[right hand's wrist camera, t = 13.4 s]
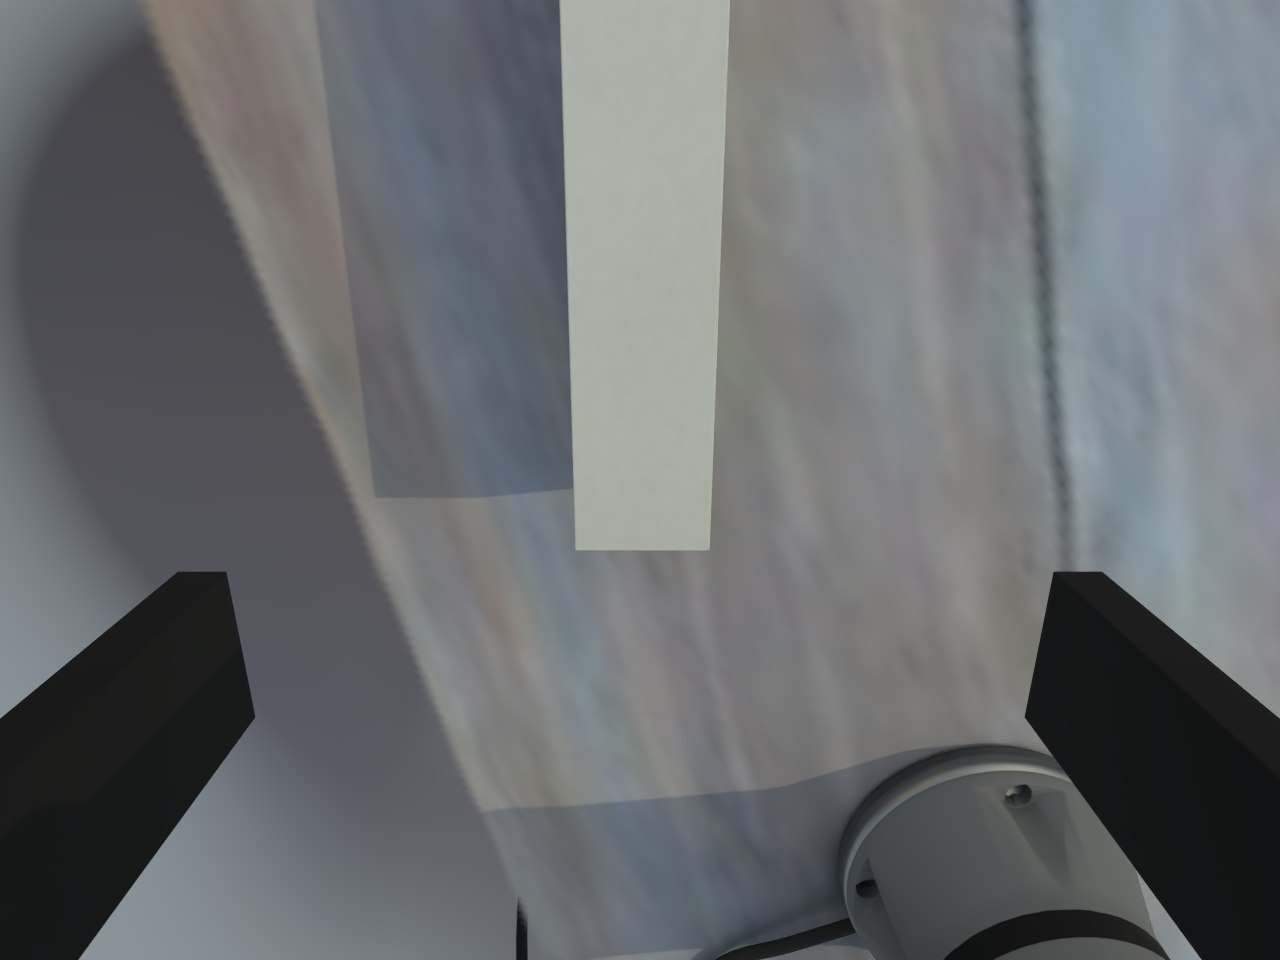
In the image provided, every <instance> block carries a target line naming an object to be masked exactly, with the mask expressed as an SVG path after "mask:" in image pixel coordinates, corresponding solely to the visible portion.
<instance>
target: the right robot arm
mask: <svg viewBox="0 0 1280 960" xmlns="http://www.w3.org/2000/svg"><path fill="white" fill-rule="evenodd" d="M254 718H255V713H254V708H253V703H252V698H251V693H250V688H249V683H248V678H247V673H246V668H245V663H244V658H243V653H242V648H241V643H240V638H239V633H238V628H237V623H236V618H235V613H234V608H233V603H232V598H231V593H230V588H229V583H228V578H227V573H226V572H177V573H176V574H175V575H174V576H172V577H171V578H170V579H169V580H168V581H166V582H165V583H164V584H163V585H161V586H160V587H159V588H158V589H157V590H155V591H154V592H153V593H152V594H151V595H149V596H148V597H147V598H146V599H144V600H143V601H142V602H141V603H140V604H138V605H137V606H136V607H135V608H134V609H132V610H131V611H130V612H129V613H128V614H126V615H125V616H124V617H123V618H121V619H120V620H119V621H118V622H117V623H115V624H114V625H113V626H112V627H111V628H109V629H108V630H107V631H106V632H105V633H103V634H102V635H101V636H100V637H99V638H97V639H96V640H95V641H94V642H92V643H91V644H90V645H89V646H88V647H86V648H85V649H84V650H83V651H82V652H80V653H79V654H78V655H77V656H76V657H74V658H73V659H72V660H71V661H70V662H68V663H67V664H66V665H65V666H63V667H62V668H61V669H60V670H59V671H57V672H56V673H55V674H54V675H53V676H51V677H50V678H49V679H48V680H47V681H45V682H44V683H43V684H42V685H40V686H39V687H38V688H37V689H36V690H34V691H33V692H32V693H31V694H30V695H28V696H27V697H26V698H25V699H23V700H22V701H21V702H20V703H19V704H17V705H16V706H15V707H14V708H13V709H11V710H10V711H9V712H8V713H7V714H5V715H4V716H3V717H2V718H0V960H78V959H79V958H80V957H81V955H82V954H83V953H84V951H85V950H86V948H87V947H88V946H89V944H90V943H91V941H92V940H93V939H94V937H95V936H96V935H97V933H98V932H99V931H100V929H101V928H102V926H103V925H104V924H105V922H106V921H107V920H108V918H109V917H110V915H111V914H112V913H113V911H114V910H115V909H116V907H117V906H118V905H119V903H120V902H121V900H122V899H123V898H124V896H125V895H126V894H127V892H128V891H129V889H130V888H131V887H132V885H133V884H134V883H135V881H136V880H137V879H138V877H139V876H140V874H141V873H142V872H143V870H144V869H145V868H146V866H147V865H148V863H149V862H150V861H151V859H152V858H153V857H154V855H155V854H156V853H157V851H158V850H159V848H160V847H161V846H162V844H163V843H164V842H165V840H166V839H167V837H168V836H169V835H170V833H171V832H172V831H173V829H174V828H175V826H176V825H177V824H178V822H179V821H180V820H181V818H182V817H183V816H184V814H185V813H186V811H187V810H188V809H189V807H190V806H191V805H192V803H193V802H194V800H195V799H196V798H197V796H198V795H199V794H200V792H201V791H202V789H203V788H204V787H205V785H206V784H207V783H208V781H209V780H210V779H211V777H212V776H213V774H214V773H215V772H216V770H217V769H218V767H219V766H220V765H221V763H222V762H223V761H224V759H225V758H226V757H227V755H228V754H229V752H230V751H231V750H232V748H233V747H234V746H235V744H236V743H237V742H238V740H239V739H240V737H241V736H242V735H243V733H244V732H245V731H246V729H247V728H248V726H249V725H250V724H251V722H252V721H253V720H254ZM1025 718H1026V720H1027V721H1028V722H1029V724H1030V725H1031V726H1032V728H1033V729H1034V731H1035V732H1036V733H1037V735H1038V736H1039V737H1040V739H1041V740H1042V742H1043V743H1044V744H1045V746H1046V747H1047V748H1048V750H1049V751H1050V752H1051V754H1052V755H1053V757H1054V758H1053V757H1050V756H1048V755H1045V754H1042V753H1039V752H1035V751H1031V750H1026V749H1020V748H1013V747H976V748H969V749H962V750H957V751H953V752H949V753H945V754H941V755H938V756H935V757H932V758H929V759H927V760H925V761H922V762H920V763H917V764H915V765H913V766H911V767H909V768H907V769H905V770H904V771H902V772H900V773H899V774H897V775H895V776H894V777H892V778H891V779H890V780H888V781H887V782H885V783H884V784H883V785H882V786H880V787H879V788H878V789H877V790H876V791H875V792H873V793H872V794H871V796H870V797H869V798H868V799H867V800H866V801H865V802H864V803H863V804H862V805H861V807H860V808H859V809H858V810H857V812H856V813H855V815H854V816H853V818H852V819H851V821H850V823H849V825H848V827H847V829H846V831H845V833H844V836H843V838H842V841H841V845H840V849H839V855H838V877H839V883H840V886H841V890H842V894H843V897H844V901H845V904H846V908H847V911H848V914H849V918H847V919H844V920H840V921H837V922H834V923H831V924H828V925H824V926H821V927H818V928H815V929H812V930H808V931H805V932H802V933H799V934H795V935H792V936H789V937H785V938H782V939H778V940H774V941H769V942H765V943H760V944H755V945H750V946H746V947H743V948H739V949H736V950H733V951H731V952H728V953H726V954H724V955H722V956H720V957H718V958H717V959H715V960H760V959H765V958H770V957H775V956H779V955H783V954H787V953H791V952H794V951H798V950H801V949H804V948H808V947H811V946H814V945H817V944H821V943H824V942H827V941H831V940H834V939H837V938H840V937H844V936H847V935H850V934H853V933H857V934H858V935H859V937H860V938H861V939H862V940H863V942H864V943H865V945H866V946H867V948H868V949H869V950H870V952H871V953H872V955H873V956H874V957H875V959H876V960H1170V959H1169V957H1168V956H1167V954H1166V953H1165V951H1164V950H1163V948H1162V946H1161V945H1160V943H1159V942H1158V940H1157V939H1156V937H1155V935H1154V931H1153V928H1152V924H1151V921H1150V918H1149V914H1148V911H1147V907H1146V904H1145V901H1144V897H1143V894H1142V891H1141V887H1140V884H1139V880H1138V877H1137V874H1136V870H1137V872H1138V873H1139V874H1140V876H1141V877H1142V879H1143V880H1144V881H1145V883H1146V884H1147V885H1148V887H1149V888H1150V890H1151V891H1152V892H1153V894H1154V895H1155V896H1156V898H1157V899H1158V900H1159V902H1160V903H1161V905H1162V906H1163V907H1164V909H1165V910H1166V911H1167V913H1168V914H1169V916H1170V917H1171V918H1172V920H1173V921H1174V922H1175V924H1176V925H1177V927H1178V928H1179V929H1180V931H1181V932H1182V933H1183V935H1184V936H1185V937H1186V939H1187V940H1188V942H1189V943H1190V944H1191V946H1192V947H1193V948H1194V950H1195V951H1196V953H1197V954H1198V955H1199V957H1200V958H1201V959H1202V960H1280V718H1278V717H1277V716H1276V715H1275V714H1273V713H1272V712H1271V711H1270V710H1269V709H1267V708H1266V707H1265V706H1264V705H1263V704H1261V703H1260V702H1259V701H1258V700H1257V699H1255V698H1254V697H1253V696H1252V695H1250V694H1249V693H1248V692H1247V691H1246V690H1244V689H1243V688H1242V687H1241V686H1240V685H1238V684H1237V683H1236V682H1235V681H1234V680H1232V679H1231V678H1230V677H1229V676H1227V675H1226V674H1225V673H1224V672H1223V671H1221V670H1220V669H1219V668H1218V667H1217V666H1215V665H1214V664H1213V663H1212V662H1211V661H1209V660H1208V659H1207V658H1206V657H1204V656H1203V655H1202V654H1201V653H1200V652H1198V651H1197V650H1196V649H1195V648H1194V647H1192V646H1191V645H1190V644H1189V643H1188V642H1186V641H1185V640H1184V639H1183V638H1182V637H1180V636H1179V635H1178V634H1177V633H1175V632H1174V631H1173V630H1172V629H1171V628H1169V627H1168V626H1167V625H1166V624H1165V623H1163V622H1162V621H1161V620H1160V619H1159V618H1157V617H1156V616H1155V615H1154V614H1152V613H1151V612H1150V611H1149V610H1148V609H1146V608H1145V607H1144V606H1143V605H1142V604H1140V603H1139V602H1138V601H1137V600H1136V599H1134V598H1133V597H1132V596H1131V595H1129V594H1128V593H1127V592H1126V591H1125V590H1123V589H1122V588H1121V587H1120V586H1119V585H1117V584H1116V583H1115V582H1114V581H1113V580H1111V579H1110V578H1109V577H1108V576H1106V575H1105V574H1104V573H1103V572H1054V573H1053V578H1052V583H1051V588H1050V593H1049V598H1048V603H1047V608H1046V613H1045V618H1044V623H1043V628H1042V633H1041V638H1040V643H1039V648H1038V653H1037V658H1036V663H1035V668H1034V673H1033V678H1032V683H1031V688H1030V693H1029V698H1028V703H1027V708H1026V713H1025ZM1135 869H1136V870H1135ZM527 933H528V920H527V918H526V915H525V913H524V911H523V909H522V905H521V904H520V902H519V899H518V904H517V924H516V960H528V941H527Z"/></svg>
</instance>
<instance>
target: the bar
mask: <svg viewBox="0 0 1280 960" xmlns="http://www.w3.org/2000/svg"><path fill="white" fill-rule="evenodd" d="M559 8H560V42H561V77H562V112H563V147H564V181H565V216H566V251H567V286H568V320H569V355H570V390H571V425H572V460H573V494H574V529H575V550H600V551H709V549H710V526H711V499H712V472H713V445H714V419H715V392H716V365H717V338H718V311H719V285H720V258H721V231H722V204H723V178H724V151H725V124H726V97H727V70H728V44H729V17H730V0H559Z"/></svg>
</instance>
